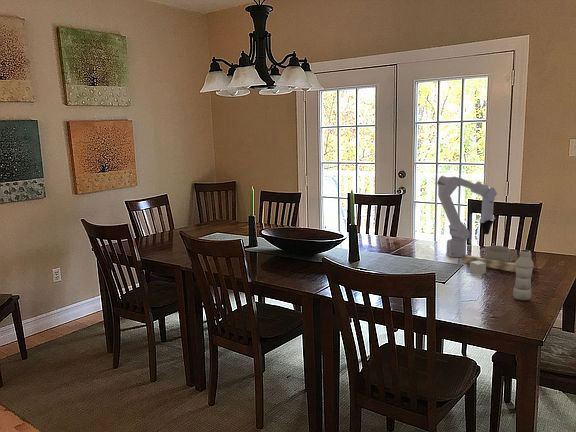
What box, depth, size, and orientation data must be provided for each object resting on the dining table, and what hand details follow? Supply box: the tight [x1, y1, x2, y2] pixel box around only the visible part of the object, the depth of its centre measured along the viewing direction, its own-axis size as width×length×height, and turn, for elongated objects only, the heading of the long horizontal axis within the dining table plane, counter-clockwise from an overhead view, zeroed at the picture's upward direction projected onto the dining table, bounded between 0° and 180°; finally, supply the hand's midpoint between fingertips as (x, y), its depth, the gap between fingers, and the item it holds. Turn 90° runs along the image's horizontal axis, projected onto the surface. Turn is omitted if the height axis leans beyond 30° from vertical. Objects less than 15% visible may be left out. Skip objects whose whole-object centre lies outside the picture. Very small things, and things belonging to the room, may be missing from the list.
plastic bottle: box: [512, 249, 535, 301], centre depth 188 cm, size 6×7×20 cm
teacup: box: [479, 245, 511, 262], centre depth 239 cm, size 14×11×8 cm
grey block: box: [469, 261, 487, 276], centre depth 225 cm, size 5×5×5 cm
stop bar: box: [461, 254, 516, 273], centre depth 234 cm, size 26×2×4 cm, turn 46°
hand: (486, 234), depth 257 cm, fingers closed
